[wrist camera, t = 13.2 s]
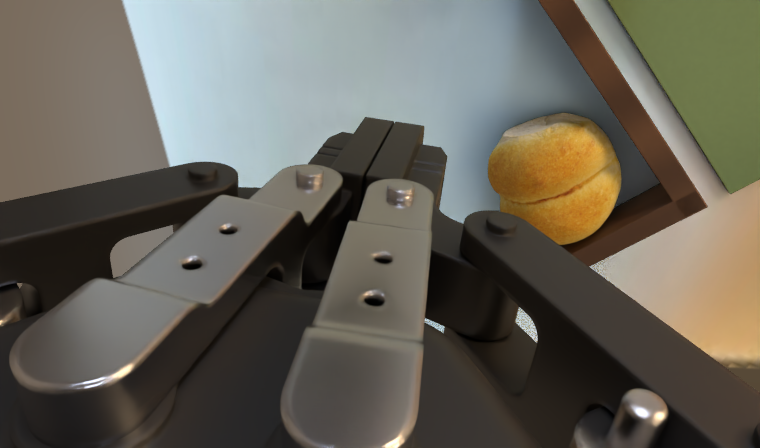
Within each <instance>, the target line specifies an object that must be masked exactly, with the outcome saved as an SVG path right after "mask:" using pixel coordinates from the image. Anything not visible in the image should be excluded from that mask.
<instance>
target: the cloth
mask: <svg viewBox="0 0 760 448" xmlns="http://www.w3.org/2000/svg"><path fill="white" fill-rule="evenodd" d="M607 1H608V2H609V4H610V5H611V7H612V9H613V10H614V12H615V13H616V15H617V16H618V18H619V20H620V21H621V23H622V24H623V26H624V27H625V29H626V31H627V32H628V34H629V35H630V37H631V39H632V40H633V42H634V43H635V45H636V46H637V48H638V50H639V51H640V53H641V54H642V56H643V58H644V59H645V61H646V62H647V64H648V65H649V67H650V69H651V70H652V72H653V73H654V75H655V77H656V78H657V80H658V81H659V83H660V84H661V86H662V88H663V89H664V91H665V92H666V94H667V95H668V97H669V99H670V100H671V102H672V103H673V105H674V107H675V108H676V110H677V111H678V113H679V114H680V116H681V118H682V119H683V121H684V122H685V124H686V126H687V127H688V129H689V130H690V132H691V133H692V135H693V137H694V138H695V140H696V141H697V143H698V145H699V146H700V148H701V149H702V151H703V152H704V154H705V156H706V157H707V159H708V160H709V162H710V163H711V165H712V167H713V168H714V170H715V171H716V173H717V175H718V176H719V178H720V179H721V181H722V182H723V184H724V186H725V187H726V189H727V190H728V192H729V193H730V194H732V193H734V192H736V191H738V190H740V189H742V188H744V187H746V186H748V185H749V184H751V183H753V182H755V181H757V180H759V179H760V0H607Z"/></svg>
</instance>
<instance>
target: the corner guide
mask: <svg viewBox="0 0 760 448" xmlns="http://www.w3.org/2000/svg"><path fill="white" fill-rule="evenodd" d="M538 1H539V2H540V4H541V5H542V7H543V8H544V10H545V11H546V13H547V14H548V16H549V17H550V19H551V20H552V22H553V23H554V25H555V26H556V28H557V29H558V31H559V32H560V34H561V35H562V37H563V38H564V40H565V41H566V43H567V44H568V46H569V47H570V49H571V50H572V52H573V53H574V55H575V56H576V58H577V59H578V61H579V62H580V64H581V65H582V67H583V68H584V70H585V71H586V73H587V74H588V76H589V77H590V79H591V80H592V82H593V83H594V84H595V86H596V87H597V89H598V90H599V92H600V93H601V95H602V96H603V98H604V99H605V101H606V102H607V104H608V105H609V107H610V108H611V110H612V111H613V113H614V114H615V116H616V117H617V119H618V120H619V122H620V123H621V125H622V126H623V128H624V129H625V131H626V132H627V134H628V135H629V137H630V138H631V140H632V141H633V143H634V144H635V146H636V147H637V149H638V150H639V152H640V153H641V155H642V156H643V158H644V159H645V161H646V162H647V164H648V165H649V167H650V168H651V170H652V171H653V173H654V174H655V176H656V177H657V179H658V180H659V182H660V184H658V185H657V186H655V187H653V188H651V189H649V190H647V191H645V192H644V193H642V194H640V195H638V196H636V197H634V198H633V199H631V200H629V201H627V202H625V203H623V204H621V205H620V206H618V207H616V208H614V209H613V211H612V212H611V213H610V215H609V216H608V218H607V219H606V221H605V222H604V223H603V224H602V225H601V227H600V228H599V229H598V230H596V231H595V232H594V233H593V234H591V235H590V236H588V237H586V238H584V239H582V240H580V241H577V242H574V243H570V244H565V245H560V246H561V247H563V248H564V249H565V250H567V251H568V252H569V253H571V254H572V255H573V256H575V257H576V258H578V259H579V260H580V261H582V262H583V263H584V264H586V265H587V266H588V267H589V266H591V265H593V264H595V263H597V262H599V261H601V260H603V259H605V258H607V257H609V256H611V255H613V254H615V253H617V252H619V251H621V250H623V249H625V248H627V247H629V246H631V245H633V244H635V243H637V242H639V241H641V240H643V239H645V238H647V237H649V236H651V235H653V234H655V233H657V232H659V231H661V230H663V229H665V228H667V227H669V226H671V225H673V224H675V223H677V222H679V221H681V220H683V219H685V218H687V217H689V216H691V215H693V214H695V213H697V212H699V211H701V210H703V209H705V208H707V207H708V206H707V204H706V203H705V201H704V200H703V198H702V197H701V195H700V194H699V192H698V191H697V189H696V188H695V186H694V184H693V183H692V181H691V180H690V178H689V177H688V175H687V174H686V172H685V171H684V169H683V168H682V166H681V164H680V163H679V161H678V160H677V158H676V157H675V155H674V154H673V152H672V151H671V149H670V148H669V146H668V144H667V143H666V141H665V140H664V138H663V137H662V135H661V134H660V132H659V131H658V129H657V128H656V126H655V124H654V123H653V121H652V120H651V118H650V117H649V115H648V114H647V112H646V111H645V109H644V108H643V106H642V104H641V103H640V101H639V100H638V98H637V97H636V95H635V94H634V92H633V91H632V89H631V88H630V86H629V84H628V83H627V81H626V80H625V78H624V77H623V75H622V74H621V72H620V71H619V69H618V68H617V66H616V64H615V63H614V61H613V60H612V58H611V57H610V55H609V54H608V52H607V51H606V49H605V48H604V46H603V44H602V43H601V41H600V40H599V38H598V37H597V35H596V34H595V32H594V31H593V29H592V28H591V26H590V24H589V23H588V21H587V20H586V18H585V17H584V15H583V14H582V12H581V11H580V9H579V8H578V6H577V4H576V3H575V1H574V0H538Z"/></svg>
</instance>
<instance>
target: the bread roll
mask: <svg viewBox="0 0 760 448" xmlns="http://www.w3.org/2000/svg"><path fill="white" fill-rule="evenodd" d="M488 178H489V181H490V183H491V186H492V187H493V189H494V190H495V191H496V192H497V193H498V194H499V195H500V212H505V213H509V214H512V215H515V216H518V217H520V218H522V219H524V220H526V221H527V222H529V223H530V224H531V225H533V226H534V227H535V228H537V229H538V230H540V231H541V232H542V233H544V234H545V235H546V236H548V237H549V238H550V239H552V240H553V241H554V242H556V243H557V244H559V245H565V244H570V243H574V242H577V241H580V240H582V239H584V238H586V237H588V236H590V235H591V234H593V233H594V232H595V231H596V230H598V229H599V228H600V227H601V225H602V224H603V223H604V222H605V221H606V219H607V218H608V216H609V215H610V213H611V212H612V211H613V208H614V206H615V203H616V201H617V198H618V195H619V192H620V189H621V179H622V178H621V168H620V164H619V161H618V159H617V157H616V153H615V150H614V148H613V146H612V143H611V141H610V139H609V138H608V136H607V135H606V134H605V133H604V131H603V130H602V129H601V128H600V127H599V126H598V125H596V124H595V123H594V122H593V121H592V120H590V119H588V118H586V117H582V116H579V115H574V114H569V113H558V114H553V115H549V116H544V117H539V118H536V119H533V120H531V121H527V122H525V123H522V124H520V125H517V126H515V127H512V128H510V129H508V130H507V131H506V132H505V133H503V135H502V137H501V139H500V141H499V143H498V144H497V146H496V147H495V148H494V150H493V151H492V153H491V155H490V157H489V162H488Z"/></svg>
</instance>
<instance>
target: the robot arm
mask: <svg viewBox="0 0 760 448" xmlns="http://www.w3.org/2000/svg"><path fill="white" fill-rule="evenodd" d="M423 137H424V126H421V125H415V124H408V123H402V122H395V124H394V121H388V120H382V119H375V118H369V117H365V118H364V120H363V121H362V122H361V124H360V125H359V127H358V128H357V130H356V131H355V132H354V134H352V133H346V132H341V133H339V134H336V135H334V136H332V137H329V138H328V139H327V141H326V142H325V143H324V144H323V146H322V147H321V148H320V149H319V151H318V152H317V154H315V156H314V157H313V158H312V159H311V161H310V162H309V163H308V164H302V165H294V166H290V167H287V168H284V169H282V170H281V171H279V172H278V173H277V174H276V175H275V176H274V177H273V178H272V179H271V180H269V181H268V182H267V183H266V184H265V185H264V186H263V187H262V188H242V187H238V173H237V171H236V170H235V169H233V168H232V167H230V166H228V165H225V164H221V163H215V162H194V163H188V164H183V165H178V166H173V167H169V168H164V169H159V170H154V171H149V172H145V173H140V174H135V175H130V176H126V177H121V178H116V179H111V180H106V181H102V182H97V183H92V184H87V185H82V186H77V187H73V188H68V189H63V190H58V191H54V192H49V193H44V194H39V195H35V196H29V197H24V198H20V199H15V200H10V201H5V202H0V448H760V393H759V392H758V391H757V390H755V389H754V388H753V387H751V386H750V385H748V384H747V383H746V382H744V381H743V380H742V379H740V378H739V377H738V376H736V375H735V374H733V373H732V372H731V371H729V370H728V369H727V368H725V367H724V366H723V365H721V364H720V363H719V362H717V361H716V360H715V359H713V358H712V357H710V356H709V355H708V354H706V353H705V352H704V351H702V350H701V349H700V348H698V347H697V346H696V345H694V344H693V343H691V342H690V341H689V340H687V339H686V338H685V337H683V336H682V335H681V334H679V333H678V332H677V331H675V330H674V329H672V328H671V327H670V326H668V325H667V324H666V323H664V322H663V321H662V320H660V319H659V318H658V317H656V316H655V315H654V314H652V313H651V312H649V311H648V310H647V309H645V308H644V307H643V306H641V305H640V304H639V303H637V302H636V301H635V300H633V299H632V298H630V297H629V296H628V295H626V294H625V293H624V292H622V291H621V290H620V289H618V288H617V287H616V286H614V285H613V284H611V283H610V282H609V281H607V280H606V279H605V278H603V277H602V276H601V275H599V274H598V273H597V272H595V271H594V270H592V269H591V268H590V267H588V266H587V265H586V264H584V263H583V262H582V261H580V260H579V259H578V258H576V257H575V256H573V255H572V254H571V253H569V252H568V251H567V250H565V249H564V248H563V247H561V246H560V245H559V244H557V243H556V242H554V241H553V240H552V239H550V238H549V237H548V236H546V235H545V234H544V233H542V232H541V231H540V230H538V229H537V228H535V227H534V226H533V225H531V224H530V223H529V222H527V221H526V220H524V219H522V218H520V217H518V216H515V215H512V214H509V213H505V212H500V211H479V212H475V213H472V214H470V215H468V216H467V217H466V218H465V221H464V224H462V223H460V222H457V221H455V220H453V219H451V218H449V217H447V216H446V215H444V214H443V213H442V212H441V211H440V210H439V206H440V200H441V194H442V188H443V181H444V175H445V169H446V162H447V155H446V154H445V152H444V151H443V150H442V148H441V147H434V146H428V145H423ZM170 225H173V232H174V233H173V234H172V235H170V236H169V237H168V238H167V239H166V240H164V241H163V242H162V243H161V244H159V245H158V246H157V247H156V248H155V249H153V250H152V251H151V252H150V253H148V254H147V255H146V256H145V257H144V258H142V259H141V260H140V261H139V262H138V263H136V264H135V265H134V266H133V267H131V268H130V269H129V270H128V271H127V272H125V273H124V274H123V275H122V276H119V277H116V278H113V275H112V269H111V262H110V253H111V250H112V248H113V247H114V246H115V244H116V243H117V242H119V241H120V240H122V239H124V238H126V237H129V236H132V235H137V234H140V233H144V232H148V231H151V230H155V229H159V228H162V227H166V226H170ZM17 283H23V284H22V286H21V288H20V289H19V287H18V285H17ZM519 307H520V308H521V309H522V310H523V311H525V312H526V313H527V314H528V315H529V316H530V318H531V319H532V321H533V322H534V324H535V327H536V330H537V335H538V342H537V343H536V342H535V341H534V340H533V339H532V338H531V337H530V336H529V335H528V334H527V333H526V332H525V331H524V330H523V329H522V328H520V327H519V326H518V325H517V324H516V323H515V320H516V316H517V312H518V308H519ZM425 318H427V319H429V320H431V321H434V322H436V323H438V324H440V325H443V326H445V328H444V334H443V333H442V332H440V331H439V330H437V329H436V328H434V327H432V326H430V325H428V324H426V323H424V321H425Z"/></svg>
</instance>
